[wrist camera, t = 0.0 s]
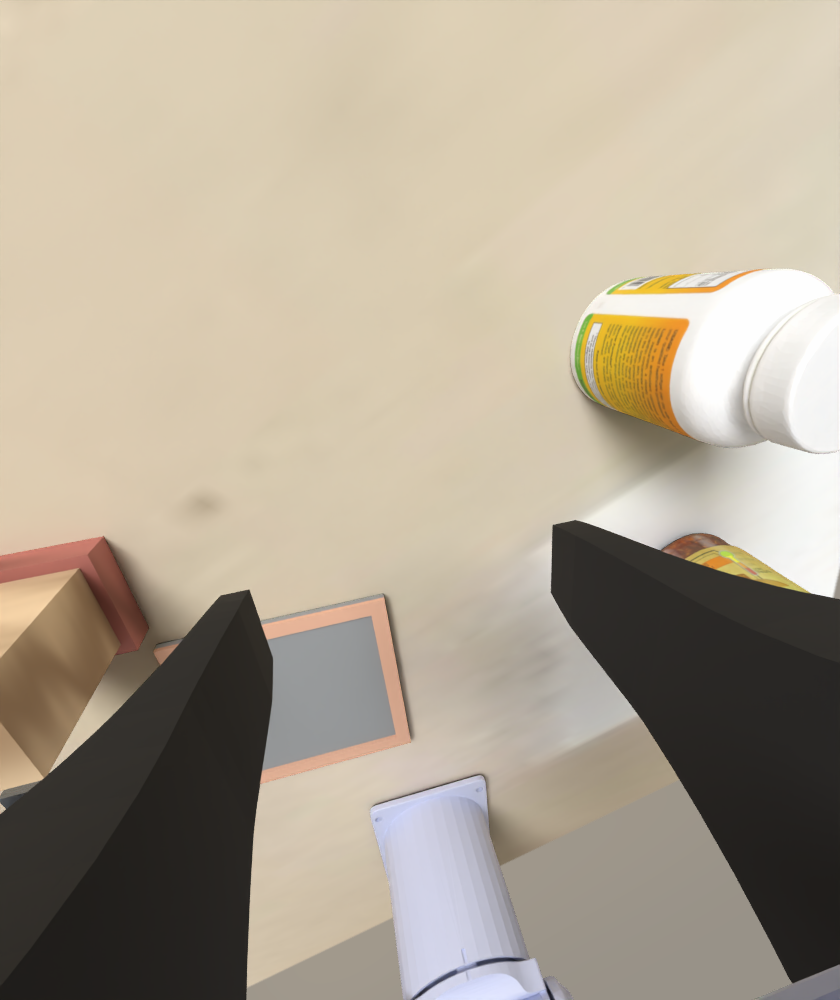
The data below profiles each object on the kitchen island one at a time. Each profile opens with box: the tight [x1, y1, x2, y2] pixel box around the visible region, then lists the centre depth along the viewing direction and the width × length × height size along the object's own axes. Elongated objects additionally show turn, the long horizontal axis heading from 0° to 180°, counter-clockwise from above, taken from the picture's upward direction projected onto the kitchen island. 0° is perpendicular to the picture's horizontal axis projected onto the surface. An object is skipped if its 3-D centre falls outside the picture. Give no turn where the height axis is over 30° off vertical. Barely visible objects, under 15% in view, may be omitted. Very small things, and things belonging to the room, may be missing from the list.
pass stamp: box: [0, 536, 149, 791], centre depth 16 cm, size 5×5×8 cm
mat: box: [153, 594, 411, 784], centre depth 24 cm, size 11×11×1 cm
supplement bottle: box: [570, 269, 840, 454], centre depth 15 cm, size 5×5×10 cm
